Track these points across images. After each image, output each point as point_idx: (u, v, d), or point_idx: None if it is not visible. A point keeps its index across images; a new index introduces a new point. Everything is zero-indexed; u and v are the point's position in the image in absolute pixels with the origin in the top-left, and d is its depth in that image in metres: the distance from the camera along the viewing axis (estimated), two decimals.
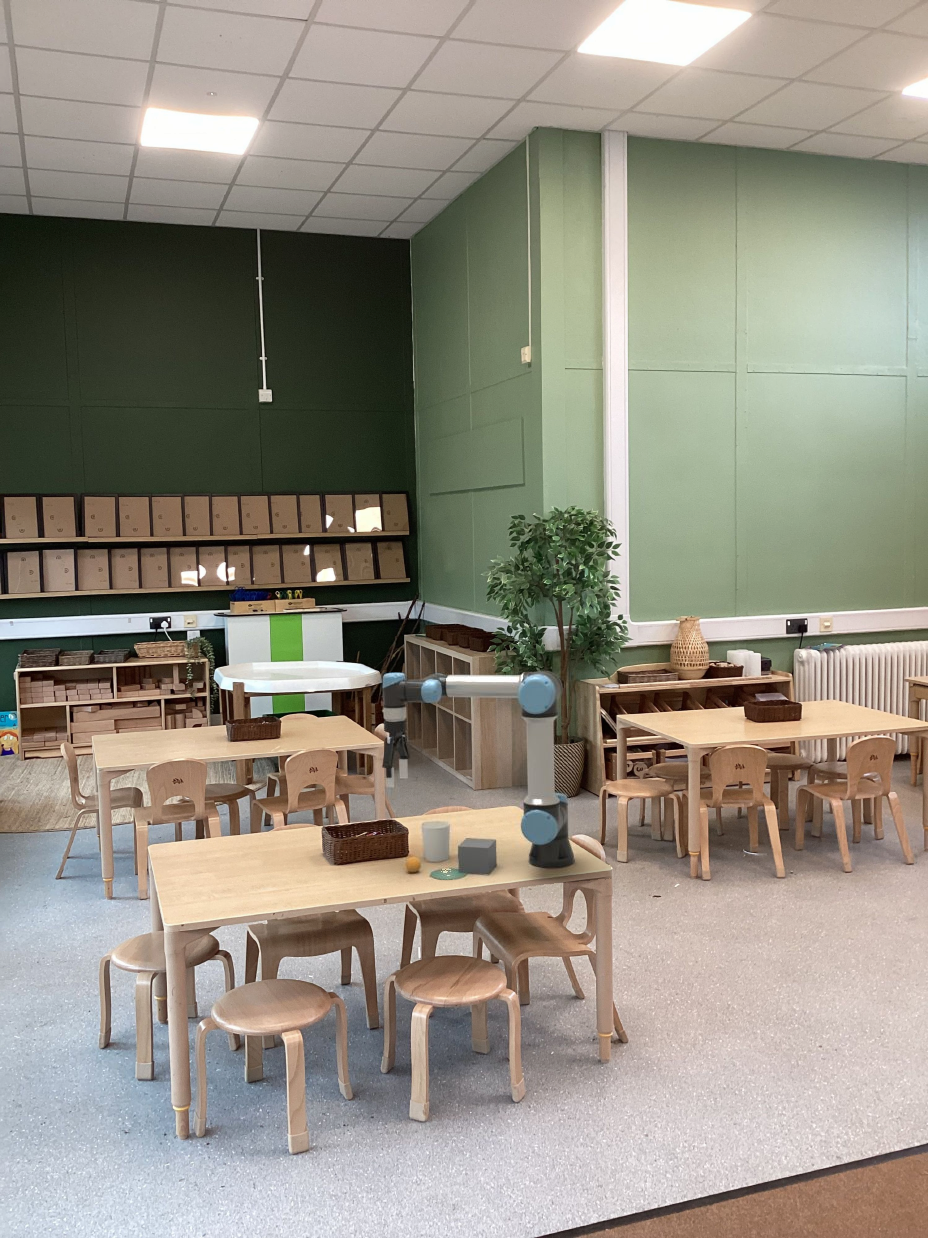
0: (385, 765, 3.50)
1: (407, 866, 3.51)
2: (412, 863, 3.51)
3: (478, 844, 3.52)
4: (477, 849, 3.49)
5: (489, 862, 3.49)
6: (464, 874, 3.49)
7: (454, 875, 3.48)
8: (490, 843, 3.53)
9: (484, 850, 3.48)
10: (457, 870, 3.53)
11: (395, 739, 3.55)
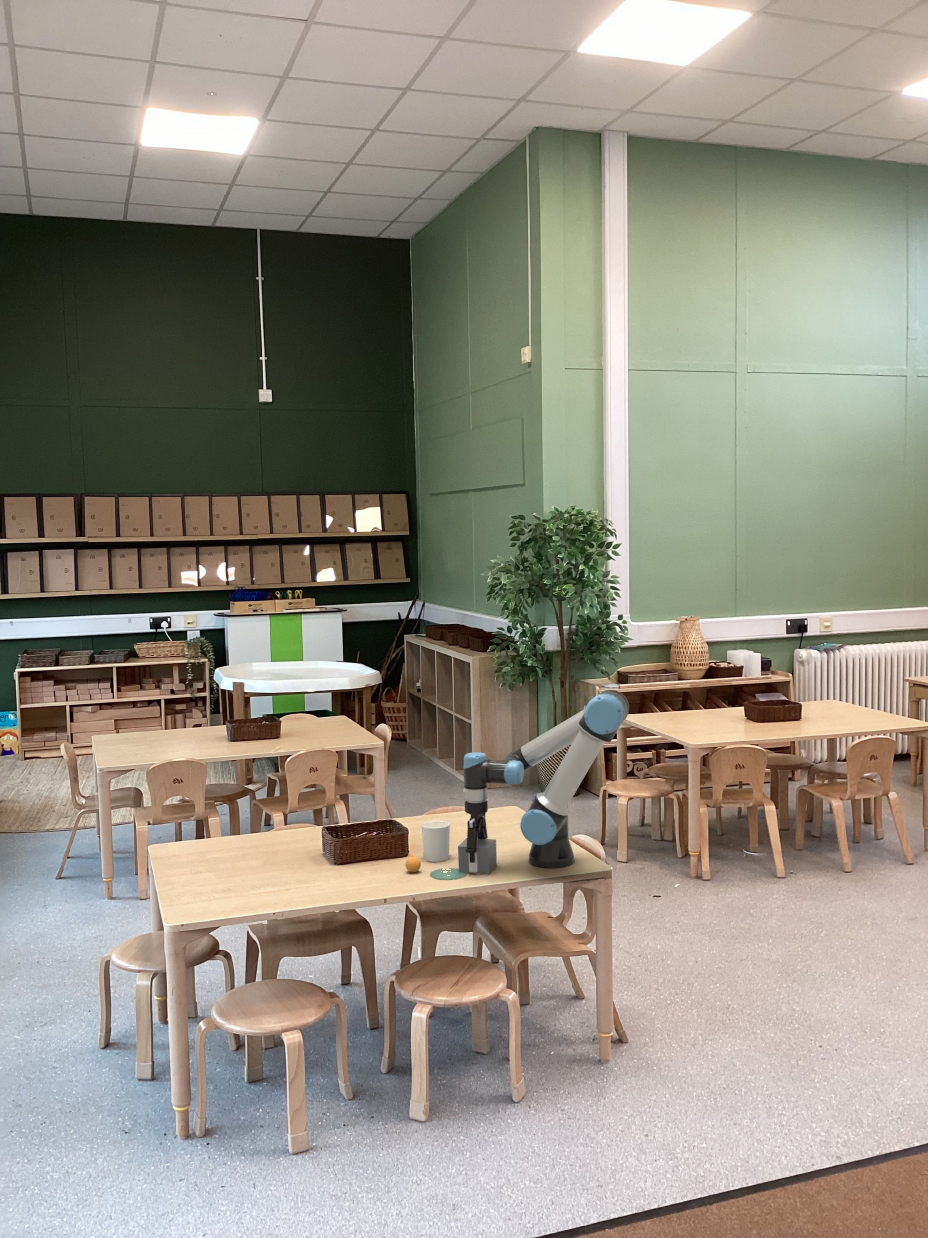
0: (469, 851, 3.46)
1: (407, 866, 3.51)
2: (412, 863, 3.51)
3: (478, 844, 3.52)
4: (477, 849, 3.49)
5: (489, 862, 3.49)
6: (464, 874, 3.49)
7: (454, 875, 3.48)
8: (490, 843, 3.53)
9: (484, 850, 3.48)
10: (457, 870, 3.53)
11: (477, 821, 3.50)
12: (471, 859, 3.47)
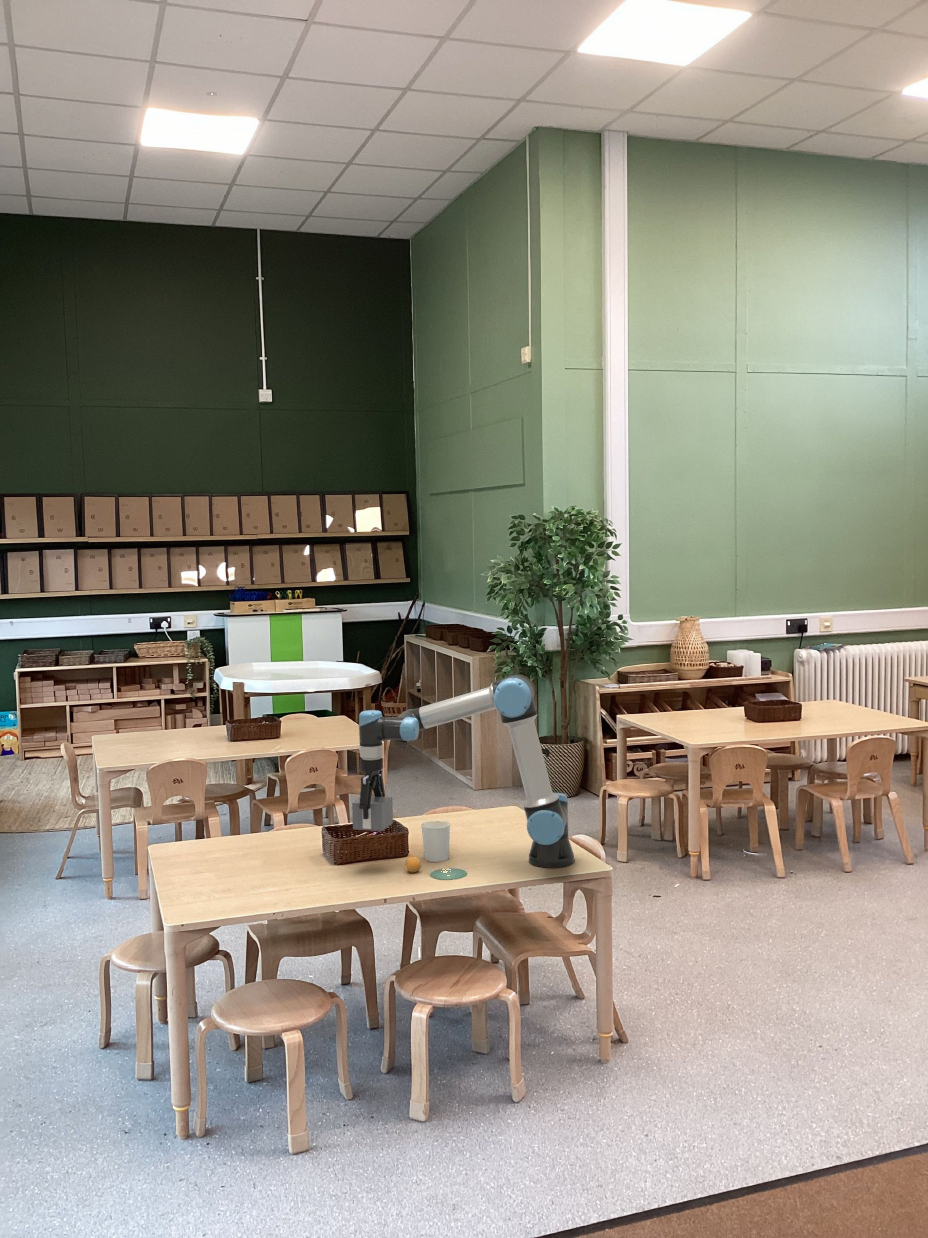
0: (362, 807, 3.47)
1: (407, 866, 3.51)
2: (412, 863, 3.51)
3: (373, 801, 3.54)
4: (371, 805, 3.50)
5: (383, 818, 3.51)
6: (464, 874, 3.49)
7: (454, 875, 3.48)
8: (385, 800, 3.55)
9: (377, 806, 3.50)
10: (457, 870, 3.53)
11: (371, 778, 3.52)
12: (364, 815, 3.49)
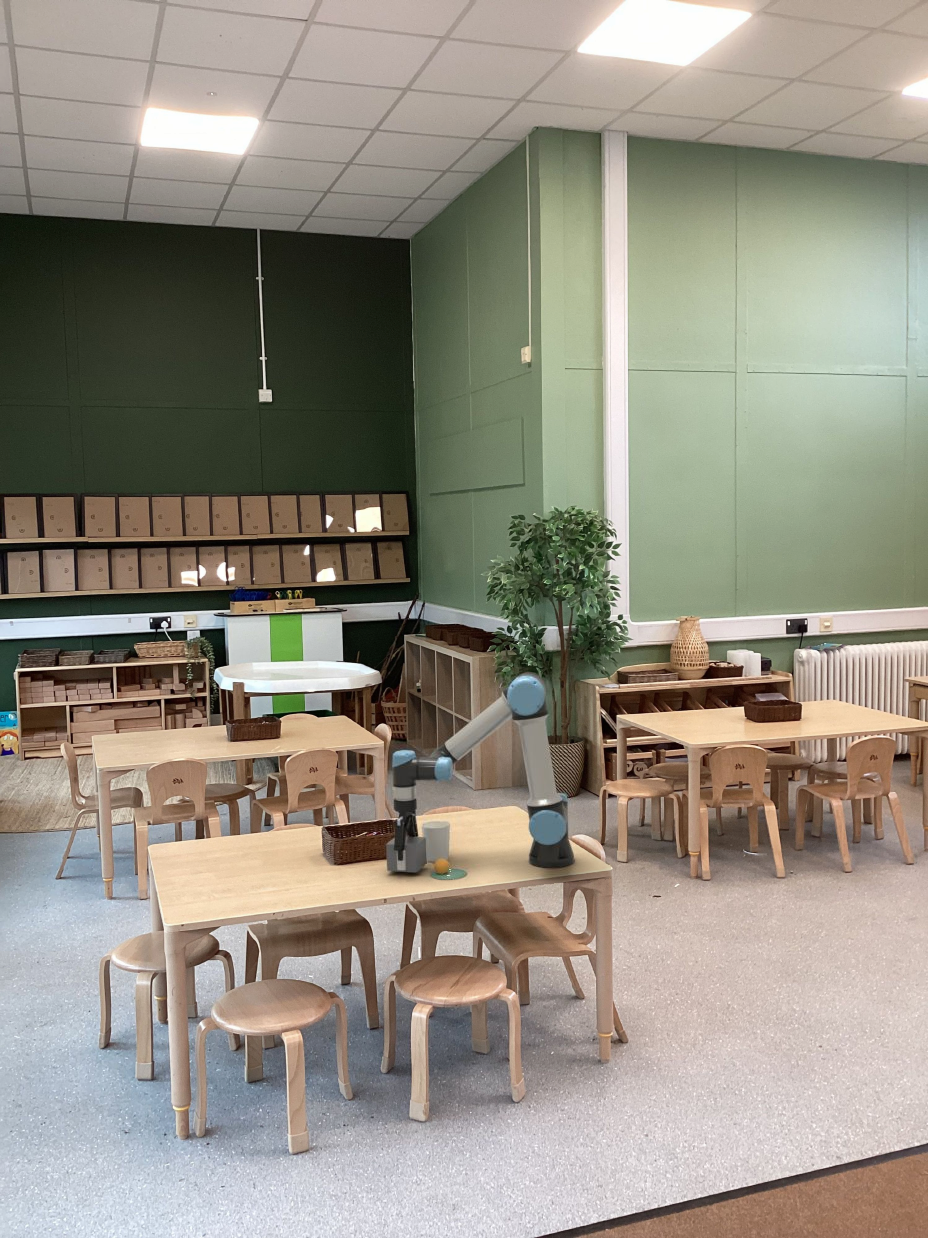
0: (397, 849, 3.45)
1: (442, 870, 3.48)
2: (436, 869, 3.49)
3: (407, 842, 3.51)
4: (405, 847, 3.48)
5: (417, 860, 3.48)
6: (464, 874, 3.49)
7: (454, 875, 3.48)
8: (419, 841, 3.52)
9: (411, 847, 3.48)
10: (457, 870, 3.53)
11: (405, 819, 3.49)
12: (399, 857, 3.47)
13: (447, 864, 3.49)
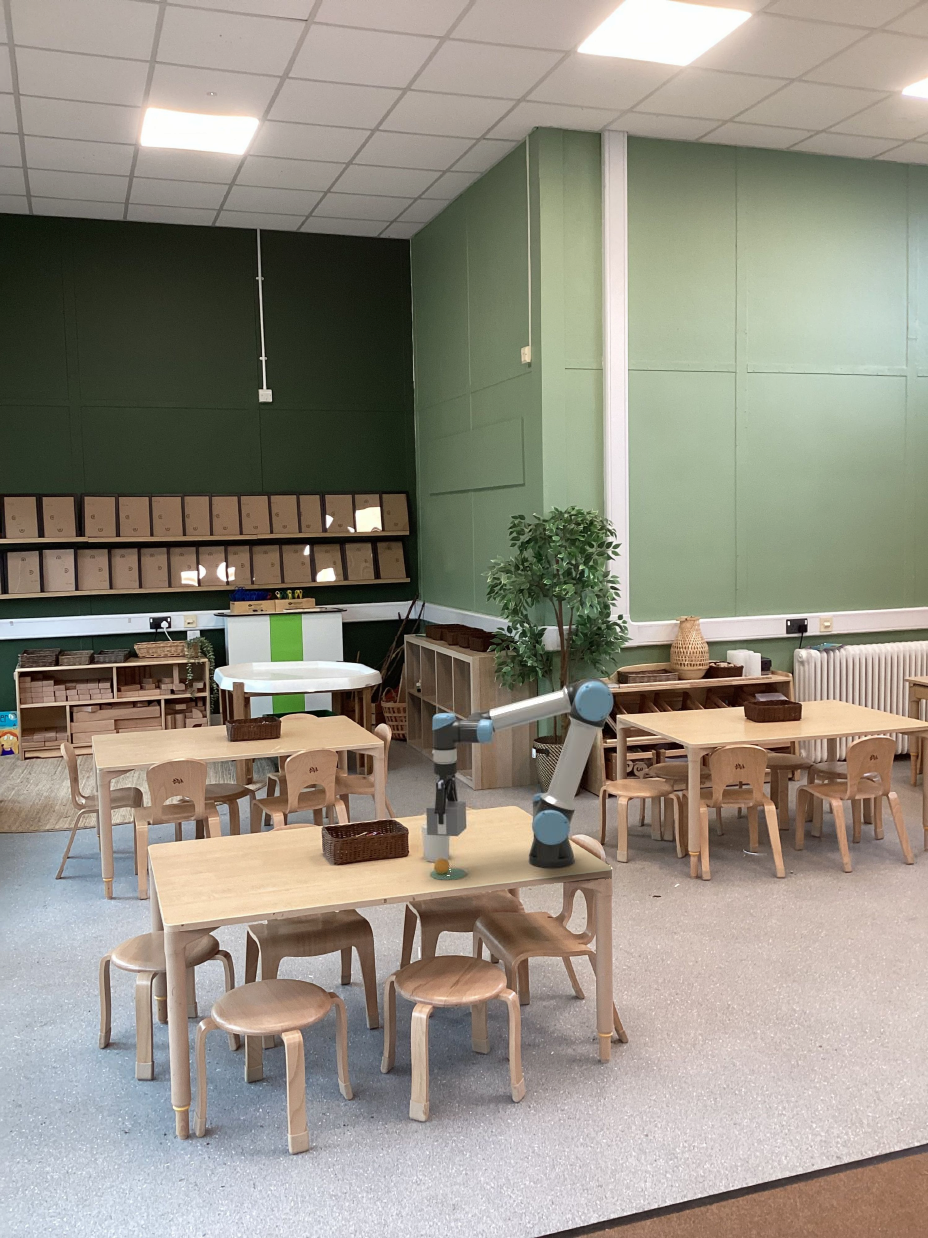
0: (438, 812, 3.40)
1: (442, 870, 3.48)
2: (436, 869, 3.49)
3: (447, 806, 3.47)
4: (446, 810, 3.43)
5: (458, 823, 3.44)
6: (464, 874, 3.49)
7: (454, 875, 3.48)
8: (459, 805, 3.47)
9: (452, 811, 3.43)
10: (457, 870, 3.53)
11: (446, 782, 3.45)
12: (440, 821, 3.42)
13: (447, 864, 3.49)
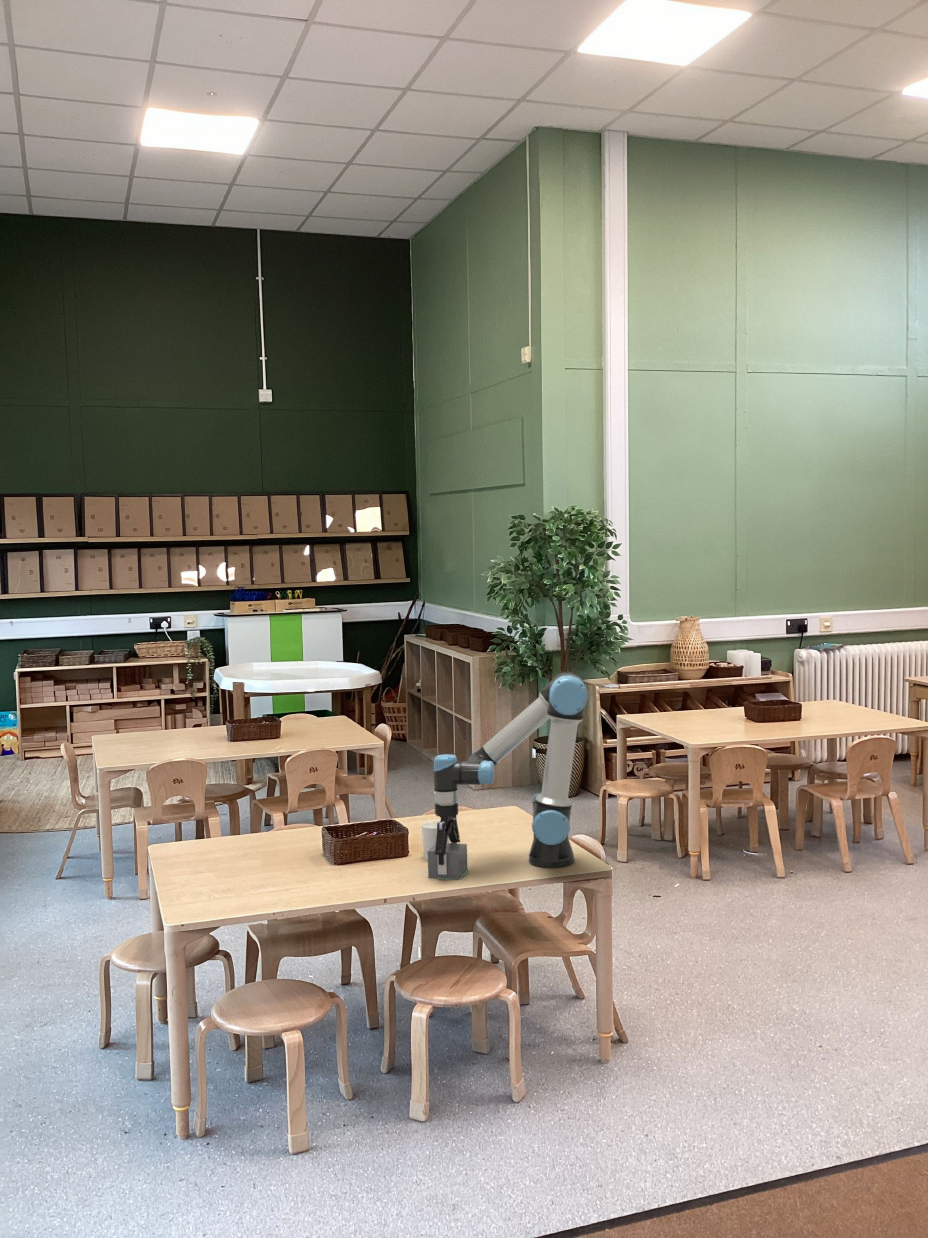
0: (438, 852, 3.40)
1: None
2: None
3: (448, 849, 3.47)
4: (447, 854, 3.44)
5: (459, 867, 3.45)
6: (464, 874, 3.49)
7: None
8: (460, 848, 3.48)
9: (453, 854, 3.44)
10: None
11: (447, 824, 3.46)
12: (440, 861, 3.42)
13: None
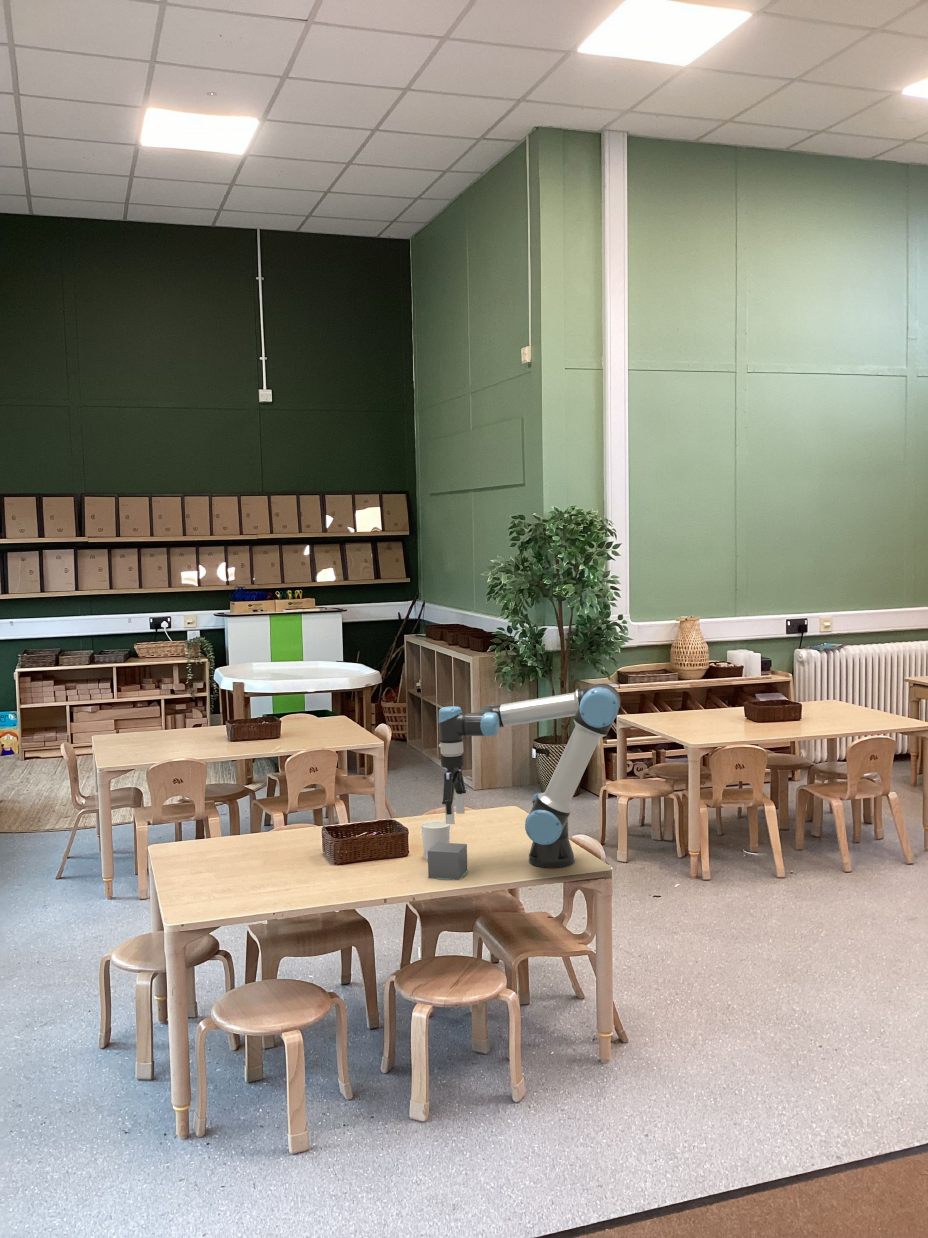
0: (446, 802, 3.43)
1: None
2: None
3: (448, 849, 3.47)
4: (447, 854, 3.44)
5: (459, 867, 3.45)
6: (464, 874, 3.49)
7: None
8: (460, 848, 3.48)
9: (453, 854, 3.44)
10: None
11: (453, 774, 3.49)
12: (448, 811, 3.44)
13: None
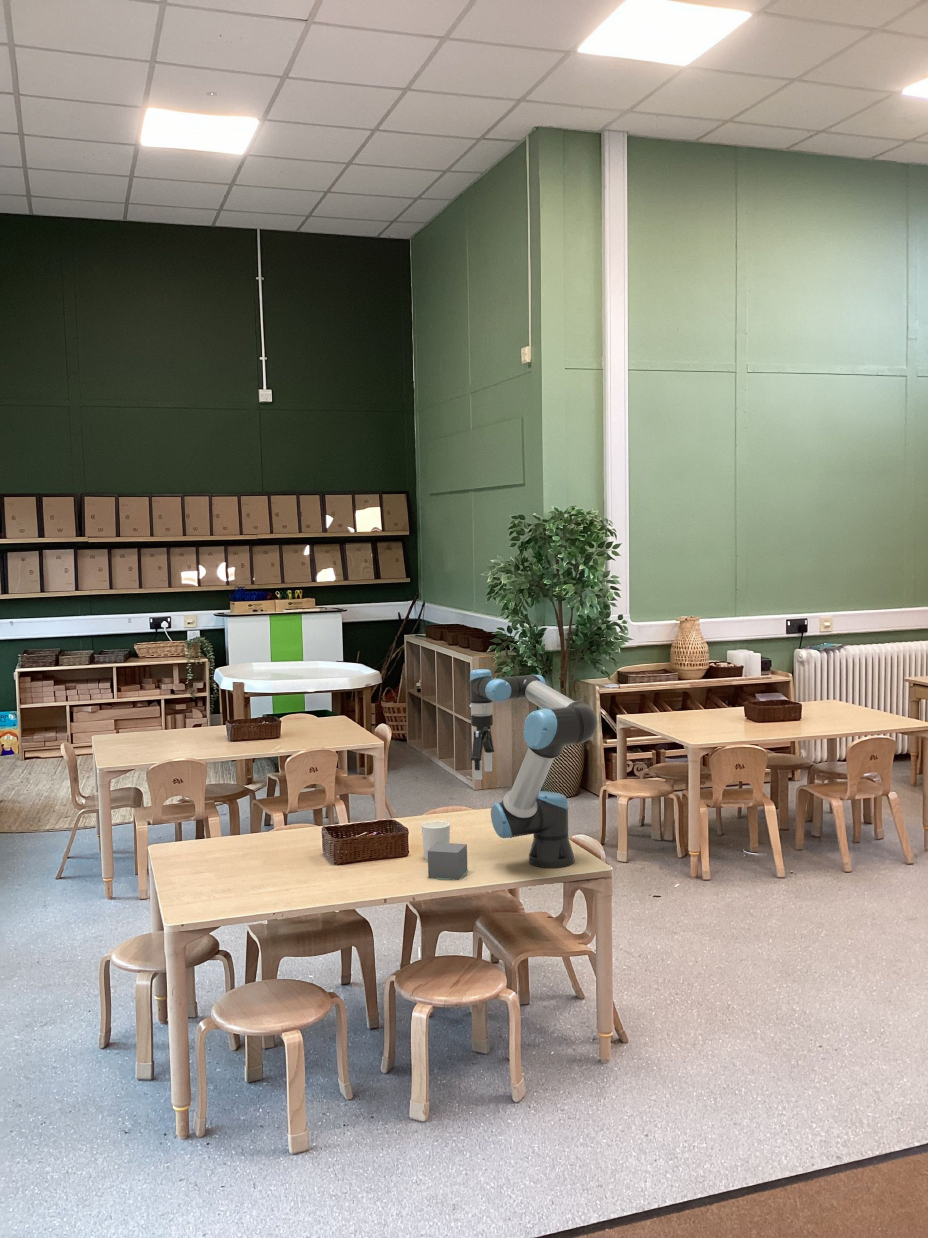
0: (474, 758, 3.64)
1: None
2: None
3: (448, 849, 3.47)
4: (447, 854, 3.44)
5: (459, 867, 3.45)
6: (464, 874, 3.49)
7: None
8: (460, 848, 3.48)
9: (453, 854, 3.44)
10: None
11: (482, 733, 3.69)
12: (476, 767, 3.65)
13: None
